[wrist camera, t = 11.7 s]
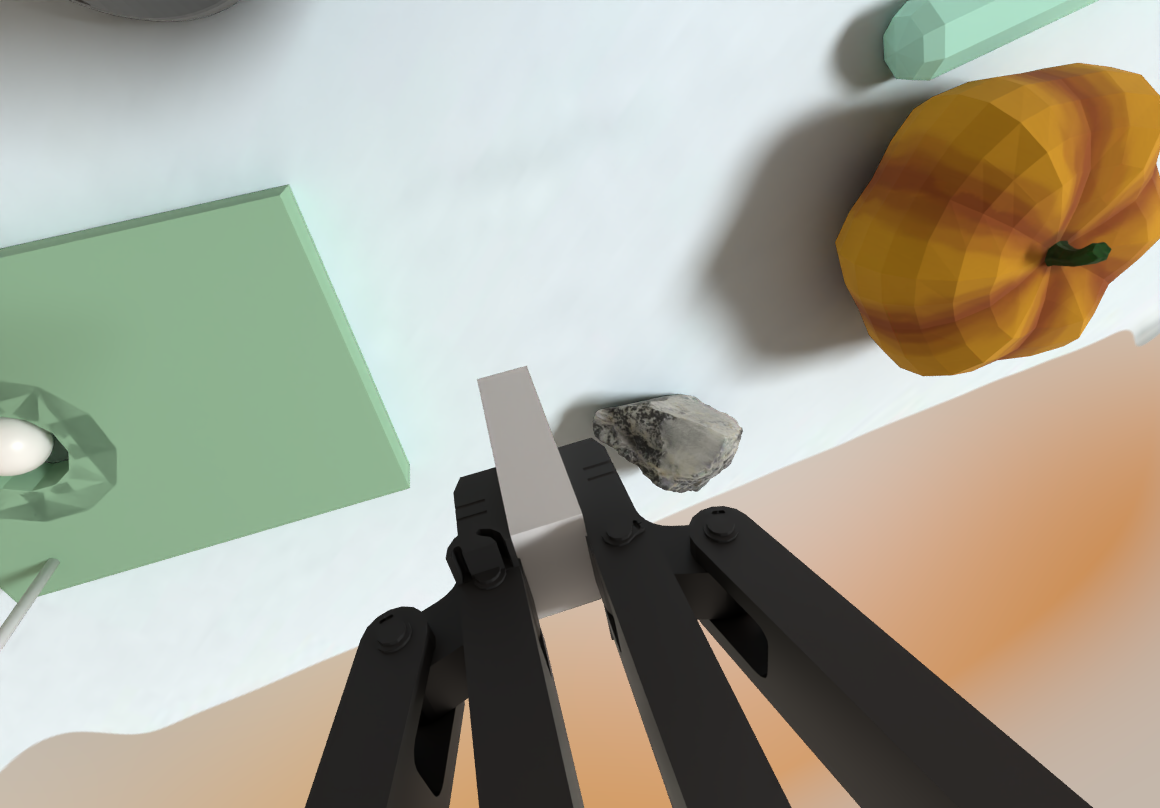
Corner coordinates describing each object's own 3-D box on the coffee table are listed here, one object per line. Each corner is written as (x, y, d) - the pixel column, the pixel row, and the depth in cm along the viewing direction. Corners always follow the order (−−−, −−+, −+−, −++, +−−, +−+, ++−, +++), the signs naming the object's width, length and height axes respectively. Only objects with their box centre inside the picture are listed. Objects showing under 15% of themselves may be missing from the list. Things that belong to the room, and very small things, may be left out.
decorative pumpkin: (757, 299, 47) (883, 390, 34) (925, -5, 38) (1176, -30, 26) (920, 360, 55) (1070, 451, 43) (1091, 120, 46) (1342, 147, 34)
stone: (652, 531, 43) (768, 456, 42) (578, 419, 44) (689, 343, 43) (657, 509, 52) (751, 448, 51) (595, 418, 53) (686, 356, 52)
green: (288, 184, 34) (207, 279, 20) (409, 464, 47) (410, 644, 33) (-240, 302, 31) (-773, 512, 17) (39, 570, 43) (-137, 822, 29)
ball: (58, 404, 37) (36, 415, 39) (-31, 408, 33) (-49, 420, 36) (67, 466, 37) (45, 474, 39) (-22, 476, 33) (-40, 485, 35)
